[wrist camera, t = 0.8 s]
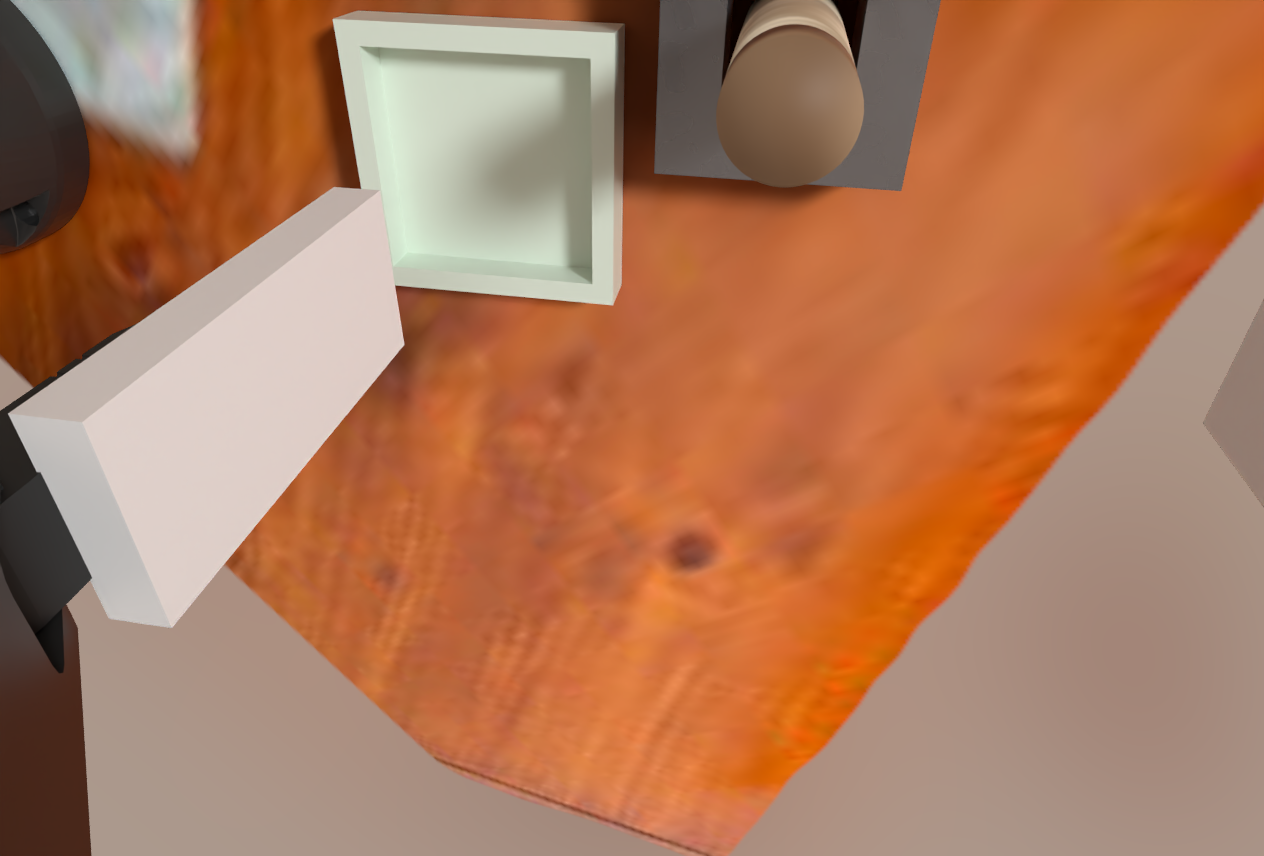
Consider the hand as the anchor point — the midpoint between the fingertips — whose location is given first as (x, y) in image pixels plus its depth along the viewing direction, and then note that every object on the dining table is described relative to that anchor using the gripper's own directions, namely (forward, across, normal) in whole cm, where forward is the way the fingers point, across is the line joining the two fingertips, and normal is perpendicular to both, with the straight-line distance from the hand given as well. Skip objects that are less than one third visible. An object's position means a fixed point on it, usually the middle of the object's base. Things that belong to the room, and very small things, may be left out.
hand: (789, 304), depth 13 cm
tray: (+26, -13, -6) cm, 30 cm away
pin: (+26, 0, 0) cm, 26 cm away
